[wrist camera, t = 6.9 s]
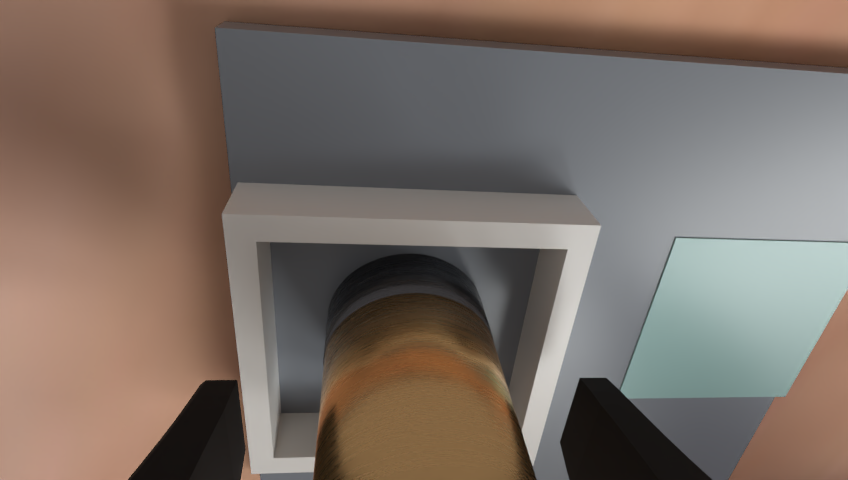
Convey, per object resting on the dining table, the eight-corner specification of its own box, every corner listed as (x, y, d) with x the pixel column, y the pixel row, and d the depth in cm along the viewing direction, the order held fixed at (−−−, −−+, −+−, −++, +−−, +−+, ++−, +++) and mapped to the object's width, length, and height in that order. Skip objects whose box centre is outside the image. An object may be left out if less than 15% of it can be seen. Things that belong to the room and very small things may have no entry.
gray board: (932, 74, 13) (1037, 100, 11) (721, 461, 20) (762, 521, 18) (224, 21, 11) (192, 42, 9) (266, 474, 18) (254, 544, 16)
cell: (493, 255, 13) (591, 503, 7) (471, 376, 15) (535, 644, 9) (327, 251, 13) (296, 513, 7) (327, 377, 15) (303, 660, 9)
